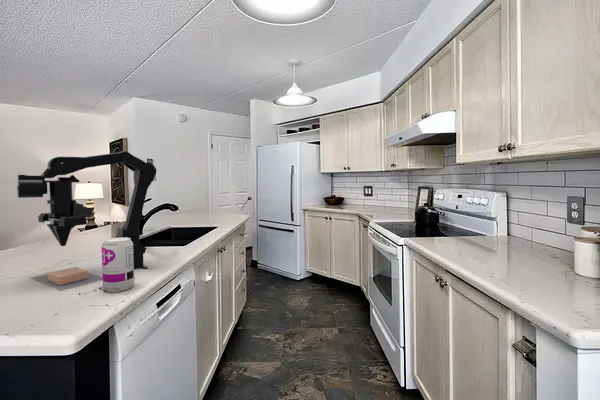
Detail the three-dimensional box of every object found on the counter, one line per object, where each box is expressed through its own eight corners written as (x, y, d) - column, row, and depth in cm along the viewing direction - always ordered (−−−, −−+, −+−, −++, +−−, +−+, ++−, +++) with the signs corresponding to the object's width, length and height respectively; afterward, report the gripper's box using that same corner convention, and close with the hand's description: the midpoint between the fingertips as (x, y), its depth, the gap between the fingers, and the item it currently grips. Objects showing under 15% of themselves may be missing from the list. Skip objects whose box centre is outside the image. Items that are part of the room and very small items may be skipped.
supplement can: (112, 295, 90) (110, 243, 89) (97, 289, 95) (95, 240, 94) (139, 286, 97) (138, 238, 96) (124, 282, 102) (123, 236, 101)
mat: (108, 281, 102) (107, 278, 102) (61, 293, 91) (61, 290, 91) (74, 270, 113) (74, 268, 113) (29, 280, 102) (29, 277, 102)
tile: (76, 274, 105) (88, 278, 101) (47, 281, 98) (59, 286, 94) (76, 266, 105) (88, 270, 101) (47, 272, 98) (59, 277, 94)
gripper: (104, 197, 101) (105, 244, 102) (75, 194, 111) (77, 238, 112) (63, 198, 92) (65, 251, 93) (36, 196, 101) (38, 244, 102)
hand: (63, 245), depth 100 cm, fingers closed
